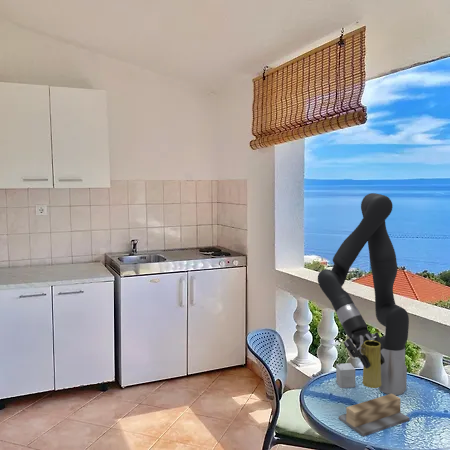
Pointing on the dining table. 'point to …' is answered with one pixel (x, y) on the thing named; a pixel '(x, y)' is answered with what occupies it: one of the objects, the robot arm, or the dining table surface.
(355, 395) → the dining table surface
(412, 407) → the dining table surface
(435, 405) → the dining table surface
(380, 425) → the ridge
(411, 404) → the dining table surface
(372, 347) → the vase
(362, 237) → the robot arm
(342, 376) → the skincare box
